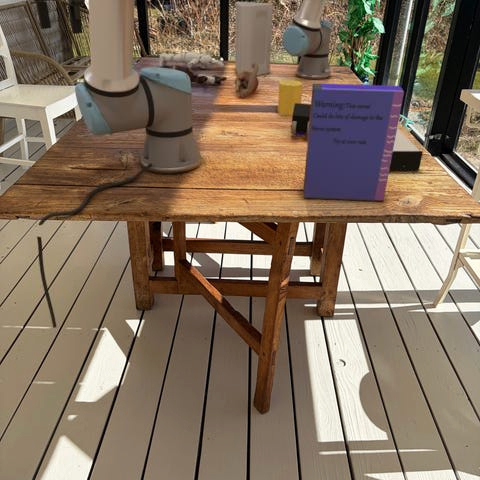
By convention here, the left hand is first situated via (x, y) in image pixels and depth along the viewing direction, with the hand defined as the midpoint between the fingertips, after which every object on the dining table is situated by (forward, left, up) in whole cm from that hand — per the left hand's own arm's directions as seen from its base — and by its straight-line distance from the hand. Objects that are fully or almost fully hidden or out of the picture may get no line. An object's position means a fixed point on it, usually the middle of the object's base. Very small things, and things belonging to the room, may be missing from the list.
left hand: (61, 30), depth 128 cm
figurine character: (+15, -65, -28) cm, 73 cm away
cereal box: (-26, -78, -28) cm, 87 cm away
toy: (+98, -7, -28) cm, 102 cm away
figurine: (+66, -15, -28) cm, 73 cm away
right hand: (+99, -26, +4) cm, 102 cm away
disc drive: (+1, -86, -28) cm, 90 cm away
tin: (+37, -59, -28) cm, 75 cm away
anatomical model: (+57, -40, -28) cm, 75 cm away
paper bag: (+96, -37, -28) cm, 107 cm away
